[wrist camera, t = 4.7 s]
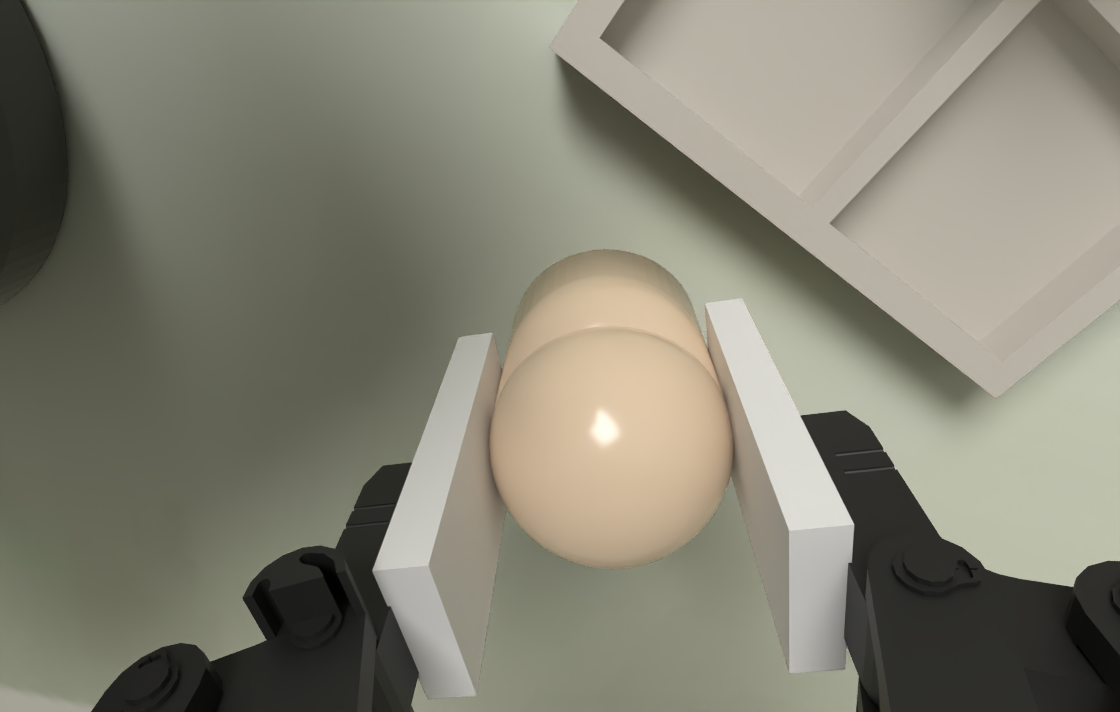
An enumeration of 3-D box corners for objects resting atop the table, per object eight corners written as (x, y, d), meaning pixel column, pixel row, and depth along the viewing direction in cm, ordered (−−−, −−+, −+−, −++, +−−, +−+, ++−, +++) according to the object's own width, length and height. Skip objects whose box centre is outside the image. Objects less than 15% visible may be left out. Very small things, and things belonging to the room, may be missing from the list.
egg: (478, 352, 17) (419, 546, 11) (586, 210, 15) (584, 350, 9) (619, 441, 18) (635, 659, 12) (735, 320, 16) (823, 507, 10)
